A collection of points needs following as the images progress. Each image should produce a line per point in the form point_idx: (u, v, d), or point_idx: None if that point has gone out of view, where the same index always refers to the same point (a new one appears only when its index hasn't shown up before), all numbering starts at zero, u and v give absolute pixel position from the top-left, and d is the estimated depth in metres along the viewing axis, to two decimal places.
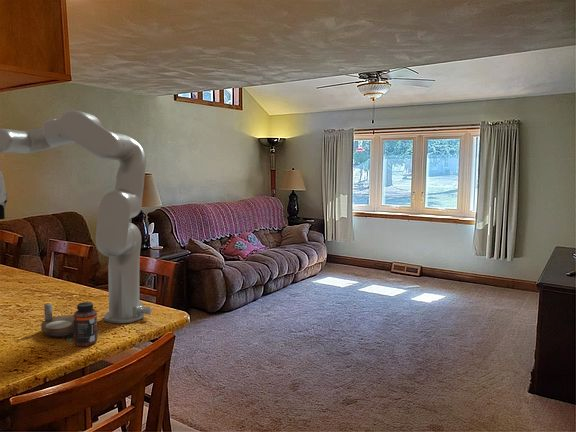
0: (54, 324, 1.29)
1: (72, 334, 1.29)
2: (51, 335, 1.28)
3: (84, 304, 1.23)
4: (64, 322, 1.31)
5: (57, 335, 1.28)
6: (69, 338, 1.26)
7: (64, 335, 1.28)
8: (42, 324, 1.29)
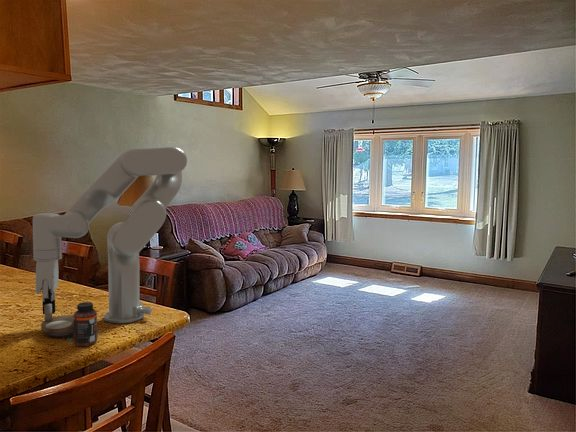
0: (54, 324, 1.29)
1: (72, 334, 1.29)
2: (51, 335, 1.28)
3: (84, 304, 1.23)
4: (64, 322, 1.31)
5: (57, 335, 1.28)
6: (69, 338, 1.26)
7: (64, 335, 1.28)
8: (42, 324, 1.29)
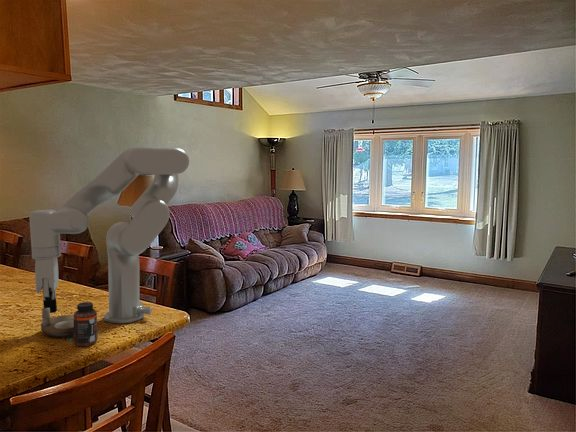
0: (62, 325, 1.29)
1: (72, 334, 1.29)
2: (51, 335, 1.28)
3: (84, 304, 1.23)
4: (67, 322, 1.32)
5: (57, 335, 1.28)
6: (69, 338, 1.26)
7: (64, 335, 1.28)
8: (49, 328, 1.26)
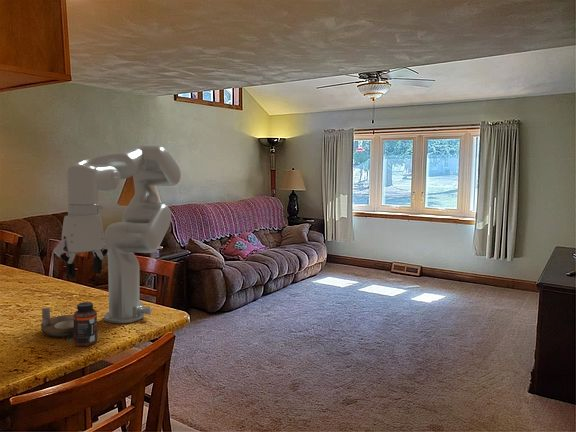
0: (62, 325, 1.29)
1: (72, 334, 1.29)
2: (51, 335, 1.28)
3: (84, 304, 1.23)
4: (67, 322, 1.32)
5: (57, 335, 1.28)
6: (69, 338, 1.26)
7: (64, 335, 1.28)
8: (49, 328, 1.26)
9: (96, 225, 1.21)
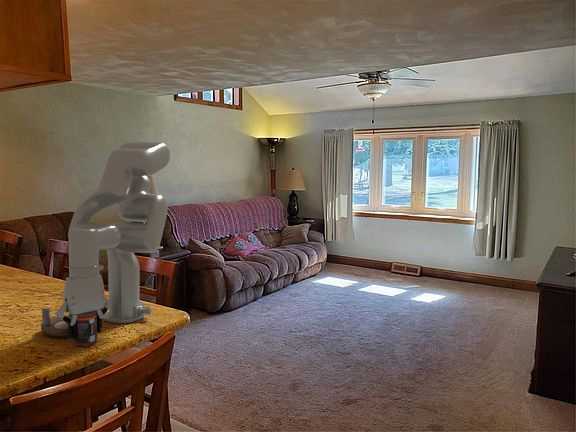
0: (62, 325, 1.29)
1: None
2: (51, 335, 1.28)
3: None
4: None
5: (57, 335, 1.28)
6: (69, 338, 1.26)
7: (64, 335, 1.28)
8: (49, 328, 1.26)
9: (97, 286, 1.23)
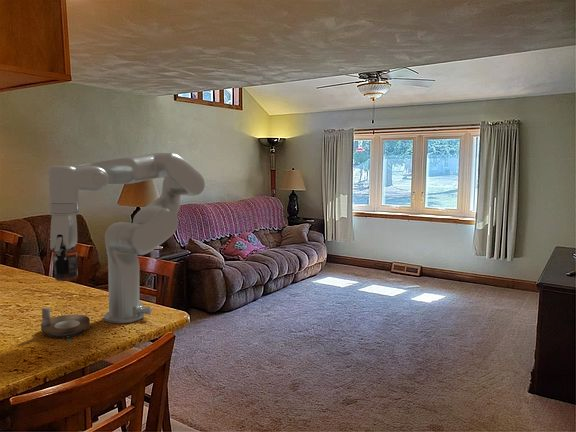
0: (62, 325, 1.29)
1: (72, 334, 1.29)
2: (51, 335, 1.28)
3: None
4: (67, 322, 1.32)
5: (57, 335, 1.28)
6: (69, 338, 1.26)
7: (64, 335, 1.28)
8: (49, 328, 1.26)
9: (76, 222, 1.30)
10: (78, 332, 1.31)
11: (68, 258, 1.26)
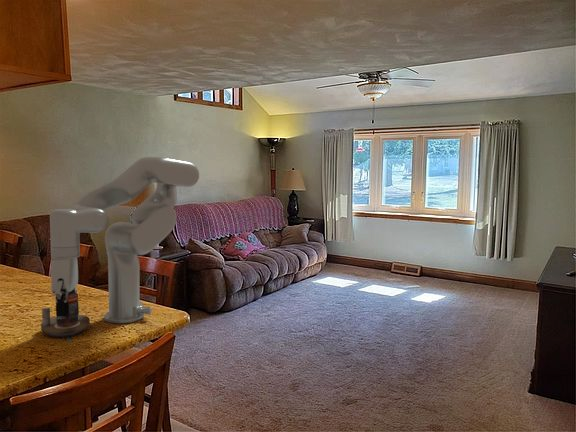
0: None
1: (72, 334, 1.29)
2: (51, 335, 1.28)
3: None
4: None
5: (57, 335, 1.28)
6: (69, 338, 1.26)
7: (64, 335, 1.28)
8: (49, 328, 1.26)
9: (77, 263, 1.31)
10: (78, 332, 1.31)
11: (69, 304, 1.27)
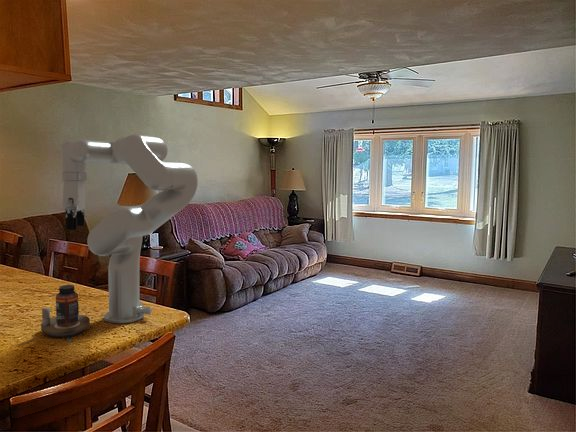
0: None
1: (72, 334, 1.29)
2: (51, 335, 1.28)
3: (67, 286, 1.29)
4: None
5: (57, 335, 1.28)
6: (69, 338, 1.26)
7: (64, 335, 1.28)
8: (49, 328, 1.26)
9: (84, 189, 1.53)
10: (78, 332, 1.31)
11: (69, 304, 1.27)
